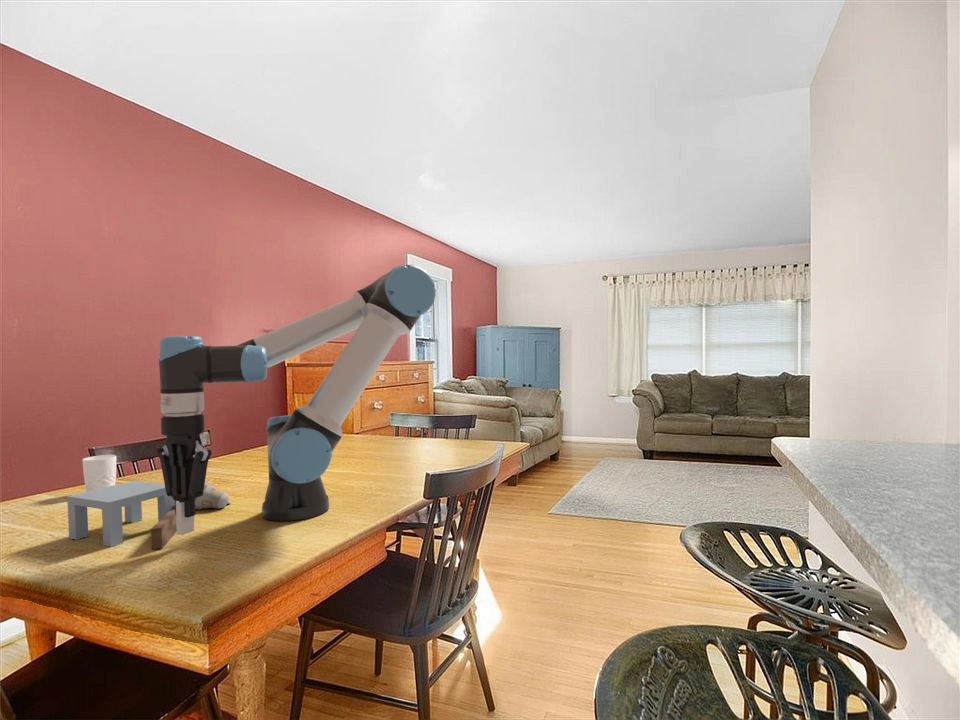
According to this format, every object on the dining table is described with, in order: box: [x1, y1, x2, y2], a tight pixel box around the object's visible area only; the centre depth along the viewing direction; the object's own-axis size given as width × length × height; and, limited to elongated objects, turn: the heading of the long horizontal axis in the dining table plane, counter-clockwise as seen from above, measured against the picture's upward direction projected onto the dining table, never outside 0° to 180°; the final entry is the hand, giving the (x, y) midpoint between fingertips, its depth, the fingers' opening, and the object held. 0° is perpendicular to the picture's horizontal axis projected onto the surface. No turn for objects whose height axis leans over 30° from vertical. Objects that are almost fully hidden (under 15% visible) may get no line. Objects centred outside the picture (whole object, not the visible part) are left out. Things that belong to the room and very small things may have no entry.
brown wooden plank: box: [150, 505, 177, 550], centre depth 112 cm, size 15×2×5 cm, turn 16°
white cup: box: [82, 454, 117, 492], centre depth 151 cm, size 8×8×10 cm
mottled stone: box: [195, 480, 231, 510], centre depth 132 cm, size 8×10×10 cm
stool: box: [66, 480, 175, 548], centre depth 116 cm, size 14×14×9 cm
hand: (185, 532), depth 106 cm, fingers closed
